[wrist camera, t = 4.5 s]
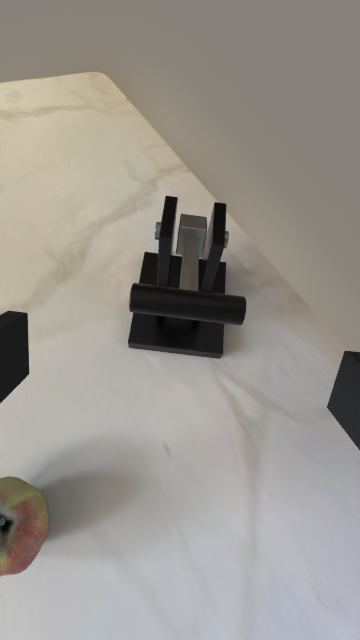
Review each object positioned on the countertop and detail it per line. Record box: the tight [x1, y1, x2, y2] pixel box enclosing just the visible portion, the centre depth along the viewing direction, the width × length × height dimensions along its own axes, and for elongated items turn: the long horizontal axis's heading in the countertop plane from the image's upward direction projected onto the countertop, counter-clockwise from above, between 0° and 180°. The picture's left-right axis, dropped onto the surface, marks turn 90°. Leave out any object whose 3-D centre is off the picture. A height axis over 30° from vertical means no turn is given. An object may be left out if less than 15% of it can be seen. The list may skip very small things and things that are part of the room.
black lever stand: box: [128, 196, 229, 359], centre depth 31 cm, size 12×10×14 cm
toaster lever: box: [129, 214, 246, 325], centre depth 22 cm, size 12×6×2 cm, turn 176°
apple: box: [0, 477, 49, 576], centre depth 23 cm, size 6×8×6 cm
